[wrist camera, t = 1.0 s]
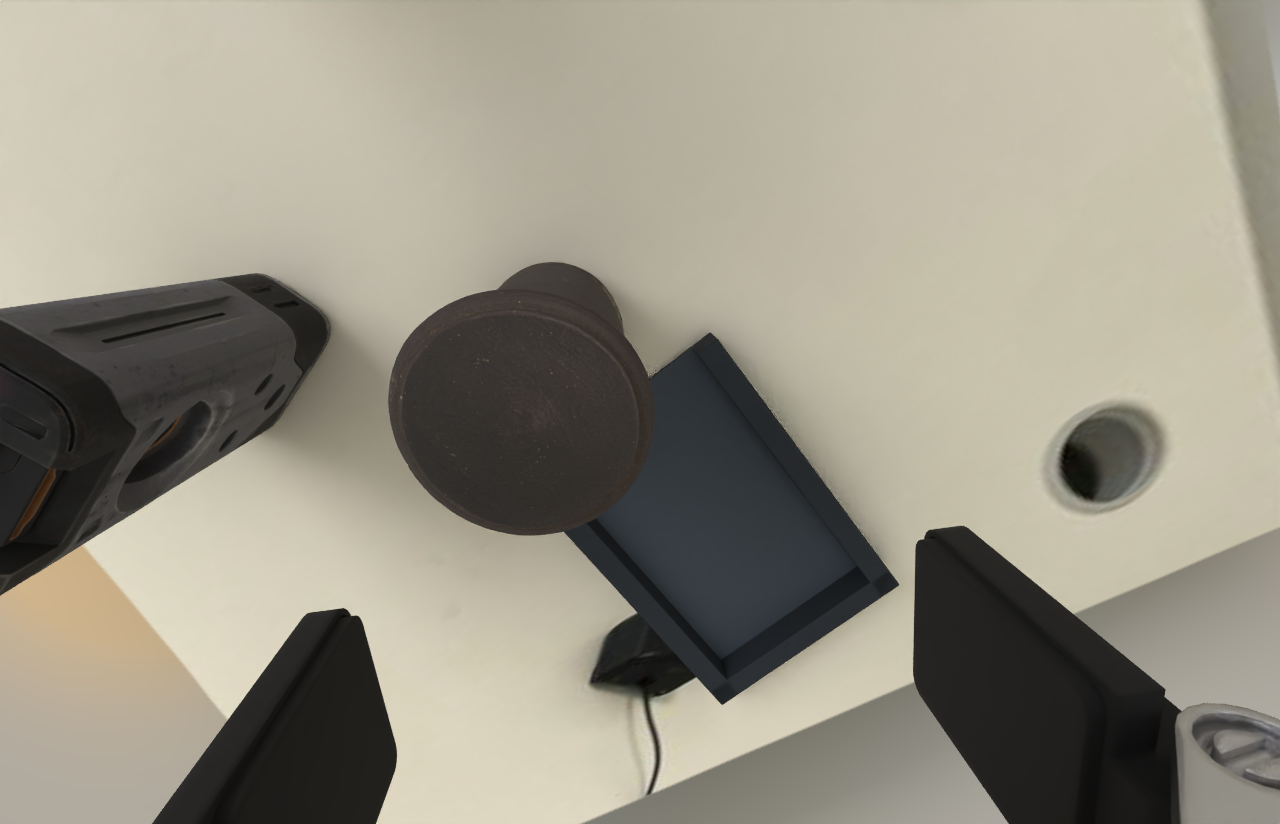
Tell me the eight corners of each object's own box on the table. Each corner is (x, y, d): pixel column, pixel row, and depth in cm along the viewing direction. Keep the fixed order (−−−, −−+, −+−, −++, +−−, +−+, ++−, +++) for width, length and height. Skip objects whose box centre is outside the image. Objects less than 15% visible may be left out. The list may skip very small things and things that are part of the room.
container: (557, 426, 41) (524, 599, 22) (454, 325, 39) (318, 418, 20) (656, 336, 40) (712, 436, 21) (556, 226, 38) (516, 224, 19)
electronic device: (266, 440, 40) (-30, 634, 21) (176, 386, 39) (-228, 541, 20) (343, 321, 39) (94, 415, 19) (251, 261, 37) (-112, 297, 18)
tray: (527, 472, 42) (522, 487, 40) (710, 332, 40) (717, 338, 38) (715, 681, 48) (722, 705, 45) (883, 566, 46) (899, 585, 43)
